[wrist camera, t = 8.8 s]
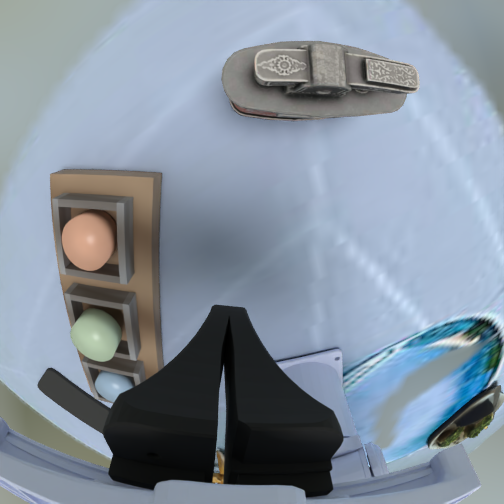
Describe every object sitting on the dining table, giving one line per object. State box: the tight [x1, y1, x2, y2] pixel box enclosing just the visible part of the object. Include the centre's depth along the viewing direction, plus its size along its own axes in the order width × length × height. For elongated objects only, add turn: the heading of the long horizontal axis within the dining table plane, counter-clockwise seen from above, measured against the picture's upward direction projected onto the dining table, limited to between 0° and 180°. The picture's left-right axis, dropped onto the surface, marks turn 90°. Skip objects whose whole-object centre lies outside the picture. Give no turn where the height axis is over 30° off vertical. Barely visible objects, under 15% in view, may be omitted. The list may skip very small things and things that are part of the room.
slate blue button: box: [95, 370, 136, 402], centre depth 22 cm, size 4×4×2 cm
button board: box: [50, 169, 164, 403], centre depth 21 cm, size 22×8×4 cm, turn 172°
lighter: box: [222, 41, 419, 121], centre depth 12 cm, size 8×3×10 cm, turn 93°
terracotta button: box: [62, 209, 118, 271], centre depth 17 cm, size 4×4×2 cm
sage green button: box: [70, 308, 122, 362], centre depth 19 cm, size 4×4×2 cm
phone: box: [38, 368, 110, 434], centre depth 29 cm, size 7×1×15 cm
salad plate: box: [428, 385, 504, 449], centre depth 35 cm, size 19×18×5 cm
